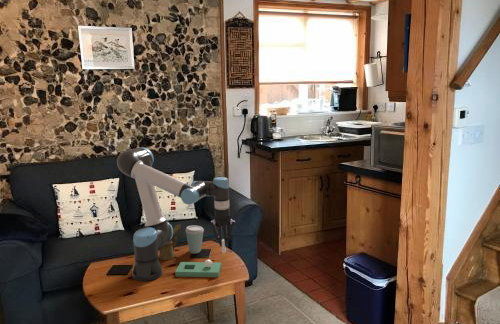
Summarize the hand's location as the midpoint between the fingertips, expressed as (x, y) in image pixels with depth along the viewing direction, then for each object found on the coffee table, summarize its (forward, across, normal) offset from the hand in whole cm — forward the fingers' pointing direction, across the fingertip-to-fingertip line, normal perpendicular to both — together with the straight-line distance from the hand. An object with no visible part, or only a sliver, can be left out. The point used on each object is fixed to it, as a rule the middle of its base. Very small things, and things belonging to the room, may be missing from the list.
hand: (224, 252), depth 211 cm
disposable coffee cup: (+11, -21, +27) cm, 35 cm away
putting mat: (+11, -14, 0) cm, 17 cm away
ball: (+6, -8, 0) cm, 11 cm away
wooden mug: (+11, -34, +20) cm, 40 cm away
